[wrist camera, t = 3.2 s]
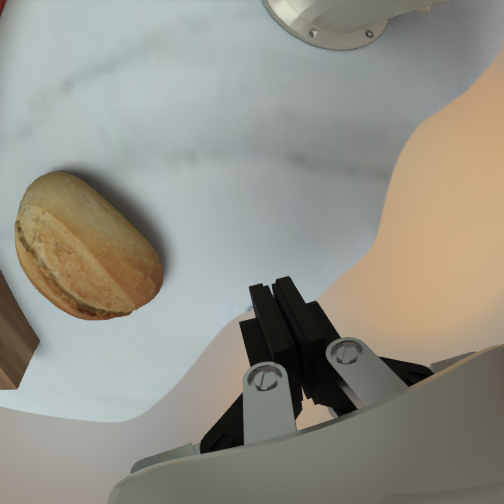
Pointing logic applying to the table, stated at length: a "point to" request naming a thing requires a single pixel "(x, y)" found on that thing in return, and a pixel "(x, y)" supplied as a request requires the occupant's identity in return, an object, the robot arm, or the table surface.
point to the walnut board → (13, 340)
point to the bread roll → (83, 250)
